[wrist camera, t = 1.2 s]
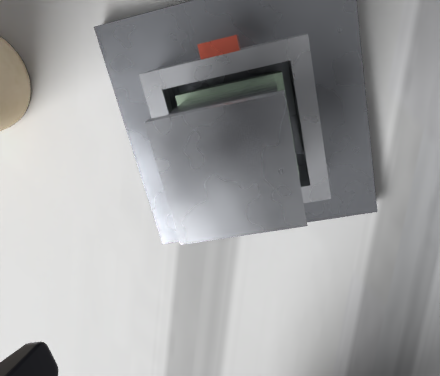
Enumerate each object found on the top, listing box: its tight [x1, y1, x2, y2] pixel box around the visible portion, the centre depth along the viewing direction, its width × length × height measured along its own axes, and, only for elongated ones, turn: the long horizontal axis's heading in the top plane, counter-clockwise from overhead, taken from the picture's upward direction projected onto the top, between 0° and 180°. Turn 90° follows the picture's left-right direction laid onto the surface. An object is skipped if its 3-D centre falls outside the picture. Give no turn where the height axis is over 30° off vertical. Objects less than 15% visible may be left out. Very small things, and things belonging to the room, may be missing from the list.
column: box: [144, 70, 307, 245], centre depth 16 cm, size 5×5×8 cm
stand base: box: [94, 0, 377, 244], centre depth 19 cm, size 12×12×4 cm
